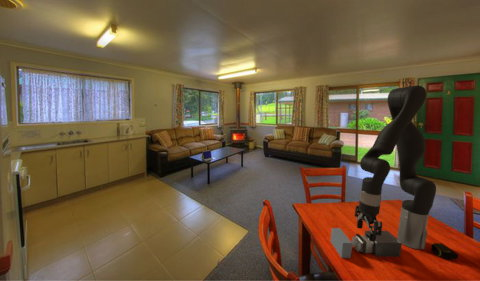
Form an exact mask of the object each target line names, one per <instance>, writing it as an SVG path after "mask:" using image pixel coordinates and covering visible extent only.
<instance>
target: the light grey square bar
mask: <svg viewBox="0 0 480 281" xmlns="http://www.w3.org/2000/svg"><path fill="white" fill-rule="evenodd" d="M351 242H352V248H354V250H356V252H361V253H362V254H364V255H365V254H374V251H375V242H374V241H370V240H369V236H368V235H365V234H364V235H362V234H361V235H360V234H359V233H355V236H352V238H351Z"/></svg>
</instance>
